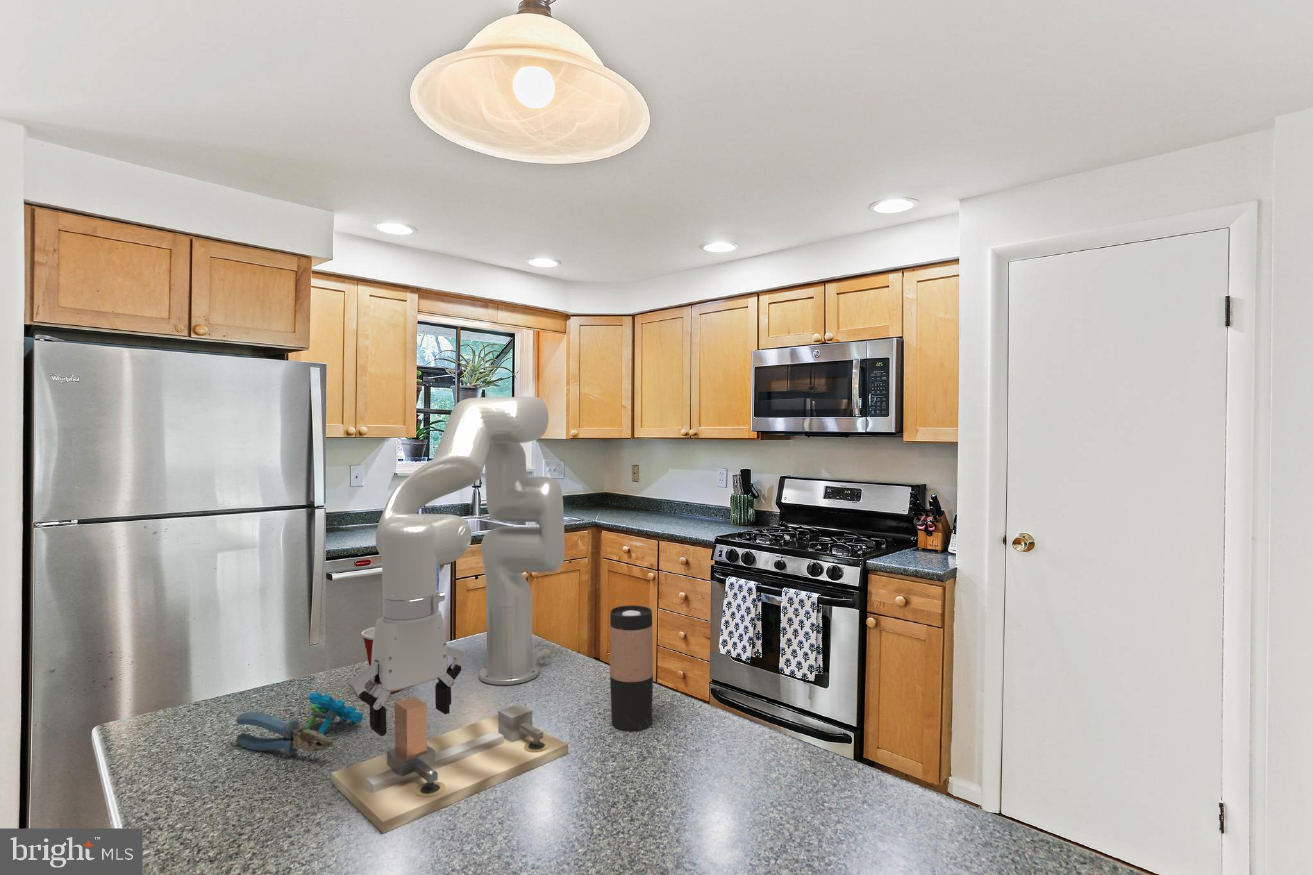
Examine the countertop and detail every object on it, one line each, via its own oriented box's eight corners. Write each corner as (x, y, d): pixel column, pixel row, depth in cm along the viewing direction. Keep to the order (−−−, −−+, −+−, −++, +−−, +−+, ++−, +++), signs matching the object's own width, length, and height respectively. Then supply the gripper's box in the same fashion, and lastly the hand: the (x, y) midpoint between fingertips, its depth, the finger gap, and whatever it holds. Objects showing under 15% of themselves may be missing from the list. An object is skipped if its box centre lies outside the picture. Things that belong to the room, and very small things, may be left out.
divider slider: (419, 758, 102) (419, 693, 102) (450, 781, 95) (449, 711, 95) (386, 770, 98) (386, 703, 98) (416, 794, 91) (416, 722, 91)
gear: (376, 717, 118) (335, 690, 112) (357, 751, 114) (313, 724, 108) (339, 712, 123) (298, 686, 118) (320, 745, 119) (276, 719, 114)
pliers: (335, 762, 105) (335, 724, 105) (324, 768, 103) (324, 730, 103) (245, 741, 112) (245, 706, 112) (233, 747, 110) (233, 711, 110)
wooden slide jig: (506, 720, 120) (506, 689, 120) (568, 753, 107) (567, 719, 107) (331, 782, 99) (331, 745, 99) (382, 833, 86) (382, 790, 86)
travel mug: (601, 722, 119) (601, 610, 119) (634, 710, 124) (634, 602, 124) (628, 736, 113) (628, 618, 113) (662, 723, 118) (661, 610, 118)
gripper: (451, 591, 107) (453, 697, 107) (339, 613, 95) (341, 733, 95) (476, 599, 102) (477, 711, 102) (360, 624, 89) (362, 751, 90)
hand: (412, 721), depth 98 cm, fingers open, 9 cm apart
